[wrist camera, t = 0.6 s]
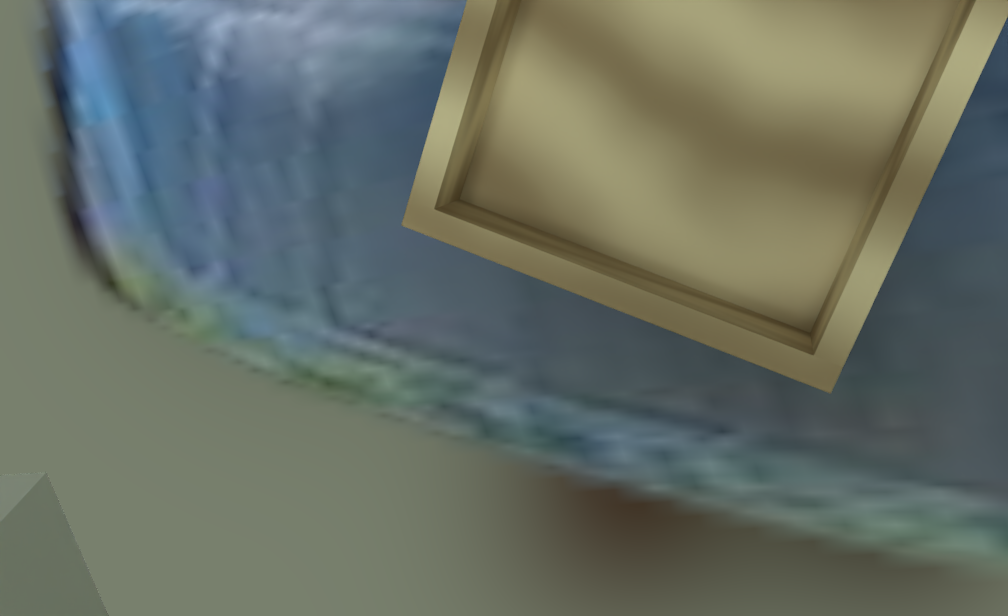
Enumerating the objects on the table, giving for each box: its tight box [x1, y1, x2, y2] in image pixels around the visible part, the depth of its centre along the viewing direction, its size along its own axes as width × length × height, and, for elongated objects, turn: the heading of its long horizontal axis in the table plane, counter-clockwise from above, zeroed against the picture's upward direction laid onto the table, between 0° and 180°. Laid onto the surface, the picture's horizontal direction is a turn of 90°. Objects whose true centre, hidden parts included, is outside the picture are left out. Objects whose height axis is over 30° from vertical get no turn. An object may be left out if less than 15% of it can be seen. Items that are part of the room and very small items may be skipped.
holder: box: [402, 0, 1008, 394], centre depth 32 cm, size 15×16×4 cm
